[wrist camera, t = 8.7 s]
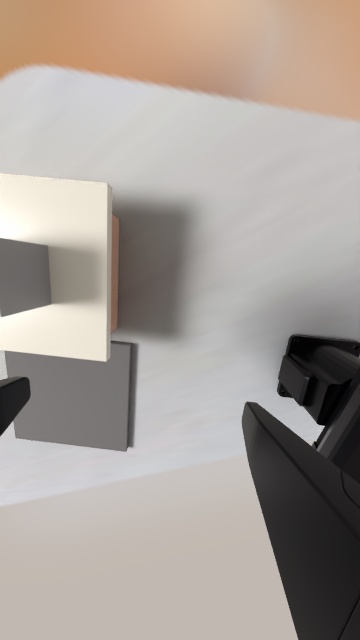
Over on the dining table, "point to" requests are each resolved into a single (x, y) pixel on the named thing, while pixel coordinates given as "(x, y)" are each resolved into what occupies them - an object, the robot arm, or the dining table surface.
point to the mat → (75, 398)
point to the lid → (55, 267)
